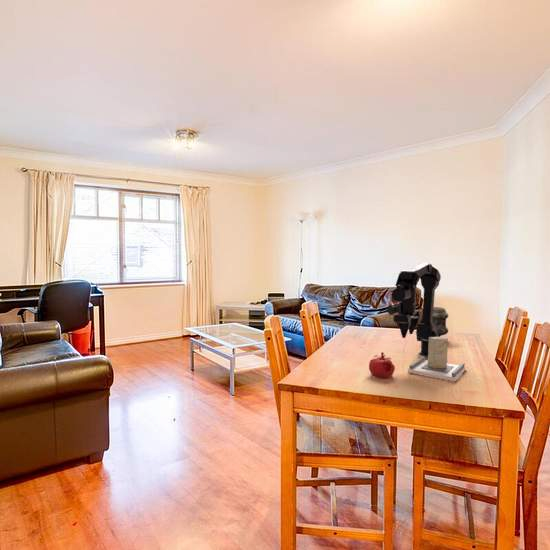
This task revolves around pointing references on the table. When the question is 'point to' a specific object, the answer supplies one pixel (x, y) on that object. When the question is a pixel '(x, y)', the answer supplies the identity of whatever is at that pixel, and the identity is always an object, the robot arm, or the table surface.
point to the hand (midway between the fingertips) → (407, 335)
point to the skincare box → (437, 352)
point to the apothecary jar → (440, 320)
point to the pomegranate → (381, 366)
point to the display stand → (437, 370)
